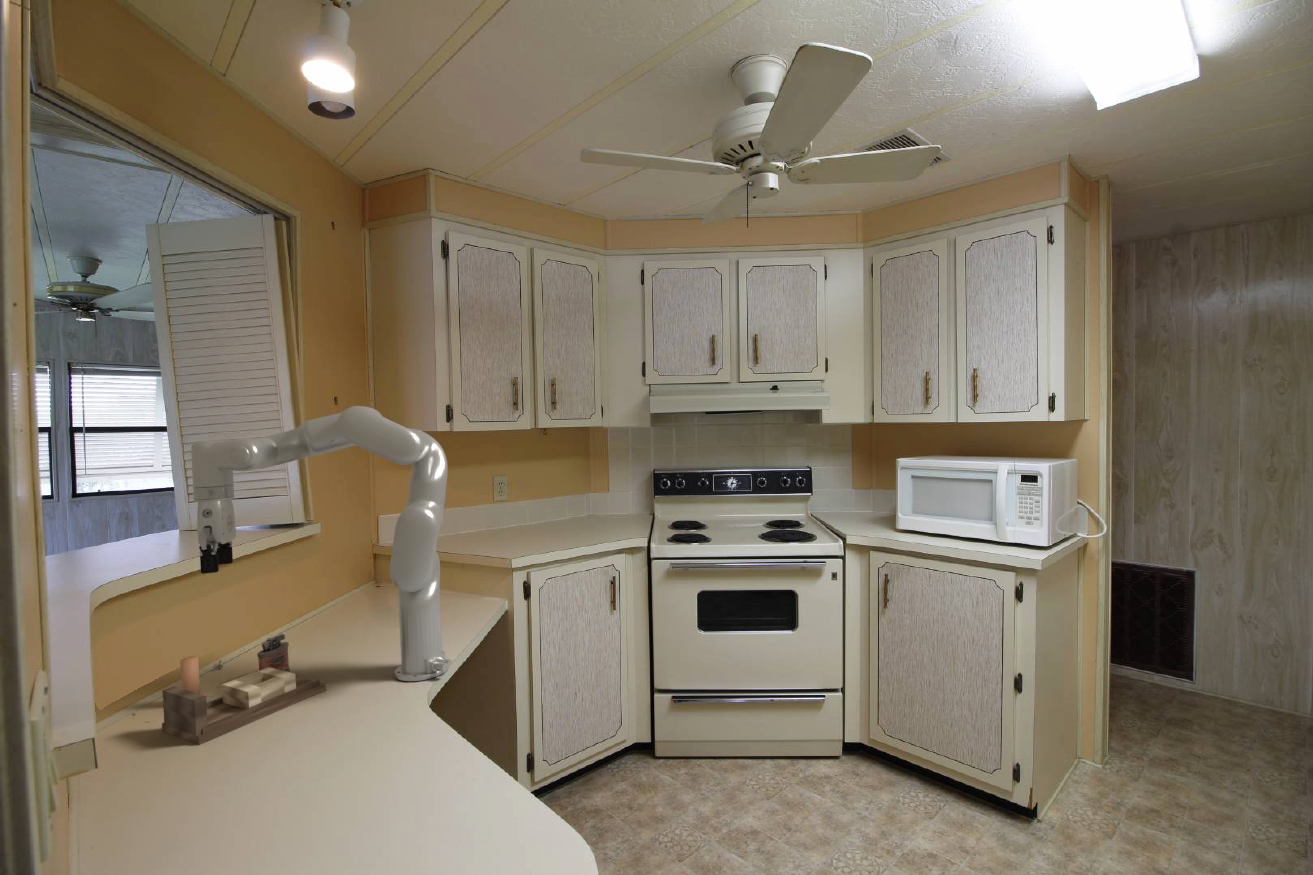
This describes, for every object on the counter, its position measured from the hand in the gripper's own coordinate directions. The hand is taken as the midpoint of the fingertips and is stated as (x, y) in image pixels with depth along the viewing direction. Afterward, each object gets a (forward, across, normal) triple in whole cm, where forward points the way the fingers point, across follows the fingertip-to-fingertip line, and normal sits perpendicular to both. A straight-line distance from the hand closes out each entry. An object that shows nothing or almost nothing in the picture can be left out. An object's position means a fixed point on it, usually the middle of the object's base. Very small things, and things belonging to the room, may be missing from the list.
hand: (217, 568), depth 138 cm
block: (+28, -9, -10) cm, 31 cm away
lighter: (+30, +7, -9) cm, 32 cm away
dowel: (+30, -1, +6) cm, 30 cm away
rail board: (+30, -11, -8) cm, 32 cm away
